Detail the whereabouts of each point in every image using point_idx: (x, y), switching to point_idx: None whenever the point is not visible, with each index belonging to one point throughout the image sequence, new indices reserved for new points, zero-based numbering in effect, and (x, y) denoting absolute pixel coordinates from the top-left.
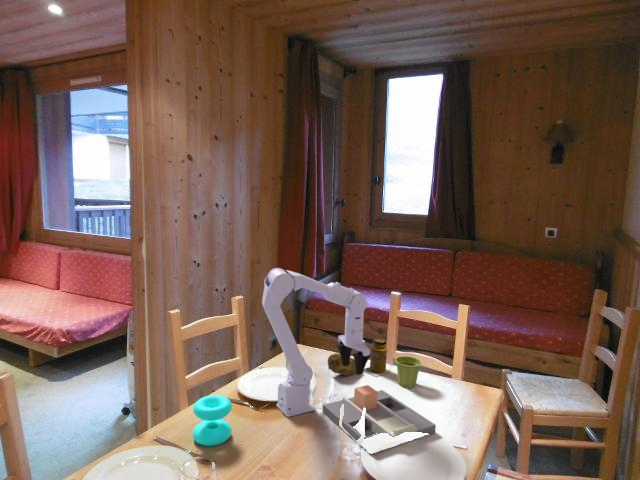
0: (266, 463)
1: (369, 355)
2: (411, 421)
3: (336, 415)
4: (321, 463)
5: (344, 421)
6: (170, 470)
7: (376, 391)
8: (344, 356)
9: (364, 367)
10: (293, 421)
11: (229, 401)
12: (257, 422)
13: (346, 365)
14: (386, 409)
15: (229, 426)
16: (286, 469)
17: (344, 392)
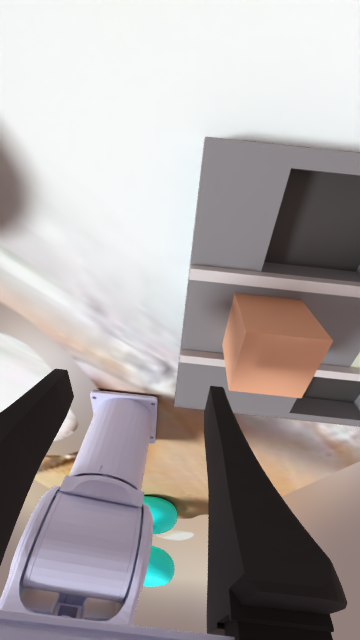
0: None
1: (337, 593)
2: None
3: (240, 411)
4: (313, 464)
5: (277, 414)
6: (191, 533)
7: (326, 344)
8: (34, 456)
9: (238, 426)
10: (173, 438)
11: (149, 572)
12: (144, 469)
13: (69, 385)
14: (357, 296)
15: (157, 514)
16: (281, 489)
17: (90, 268)
